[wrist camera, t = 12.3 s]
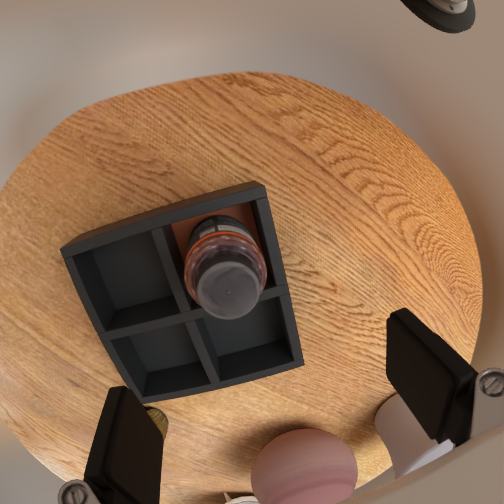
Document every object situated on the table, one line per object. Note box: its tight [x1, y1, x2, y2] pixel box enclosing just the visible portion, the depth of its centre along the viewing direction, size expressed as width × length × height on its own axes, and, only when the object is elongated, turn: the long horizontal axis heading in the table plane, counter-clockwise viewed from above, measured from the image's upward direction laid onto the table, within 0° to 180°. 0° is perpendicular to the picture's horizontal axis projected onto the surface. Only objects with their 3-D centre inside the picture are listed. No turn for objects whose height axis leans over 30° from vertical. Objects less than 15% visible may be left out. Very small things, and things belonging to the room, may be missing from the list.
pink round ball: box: [251, 429, 358, 504], centre depth 34 cm, size 15×15×15 cm
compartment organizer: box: [60, 181, 305, 404], centre depth 29 cm, size 19×19×5 cm
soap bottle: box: [374, 393, 453, 479], centre depth 31 cm, size 13×13×25 cm
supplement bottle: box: [184, 215, 267, 319], centre depth 24 cm, size 6×6×11 cm
